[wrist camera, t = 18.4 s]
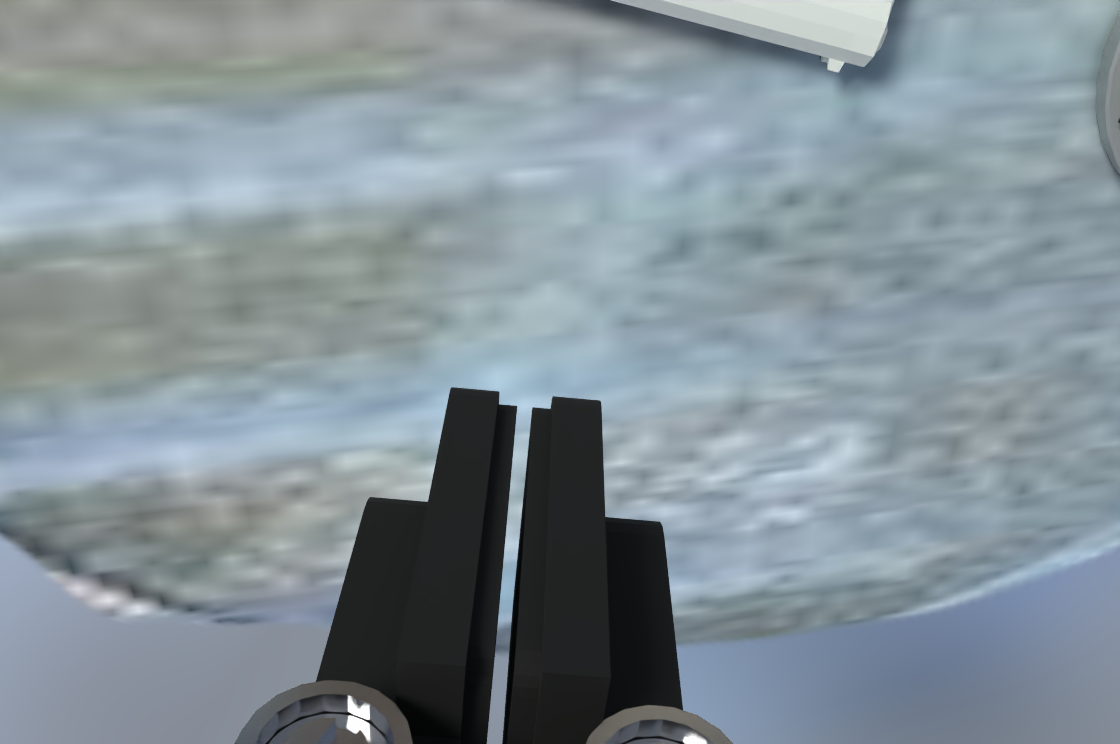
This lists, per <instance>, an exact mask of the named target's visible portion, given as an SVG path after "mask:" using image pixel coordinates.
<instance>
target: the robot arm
mask: <svg viewBox="0 0 1120 744" xmlns="http://www.w3.org/2000/svg"><path fill="white" fill-rule="evenodd" d="M1096 116H1097V121H1098V126H1099V130H1100V135H1101V140H1102V144H1103V146H1104V148H1105V150H1106V152H1107V154H1108V156H1109V159H1110V161H1111V163H1112V165H1113V167H1114V168H1115V169H1116V171H1117V172H1118V173H1119V174H1120V119H1119V118H1120V12H1119V14H1118V16H1117V18H1116V21H1115V23H1114V26H1113V28H1112V31H1111V33H1110V36H1109V38H1108V41H1107V43H1106V46H1105V48H1104V51H1103V56H1102V60H1101V65H1100V70H1099V75H1098V79H1097V95H1096ZM516 413H517V406H511V405H499V392H498V391H487V390H476V389H465V388H453V387H452V388H451V390H450V394H449V399H448V404H447V409H446V414H445V419H444V424H443V429H442V434H441V439H440V444H439V449H438V454H437V459H436V464H435V469H434V474H433V479H432V485H431V490H430V495H429V500H428V502H421V501H410V500H398V499H386V498H375V497H370V498H369V499H368V501H367V503H366V506H365V509H364V512H363V515H362V519H361V523H360V526H359V530H358V533H357V537H356V540H355V544H354V548H353V551H352V555H351V558H350V562H349V565H348V569H347V573H346V576H345V580H344V583H343V587H342V591H341V594H340V598H339V601H338V605H337V608H336V612H335V616H334V619H333V623H332V626H331V630H330V634H329V637H328V641H327V644H326V648H325V651H324V655H323V659H322V662H321V666H320V670H319V673H318V676H317V680H316V682H313V683H307V684H302V685H299V686H297V687H295V688H292V689H290V690H288V691H285V692H283V693H280V694H278V695H276V696H275V697H274V698H272V699H271V700H270V701H268V702H267V703H266V704H265V705H263V706H262V707H261V708H259V709H258V710H257V711H256V712H255V713H254V714H253V716H252V717H251V718H250V720H249V721H248V723H247V724H246V725H245V726H244V728H243V729H242V730H241V732H240V734H239V736H238V738H237V740H236V741H235V743H234V744H487V733H488V722H489V711H490V700H491V689H492V678H493V667H494V657H495V646H496V635H497V624H498V613H499V602H500V591H501V580H502V569H503V558H504V547H505V536H506V524H507V513H508V502H509V491H510V480H511V469H512V458H513V447H514V435H515V424H516ZM679 679H680V678H679V669H678V661H677V652H676V641H675V632H674V623H673V614H672V604H671V595H670V586H669V577H668V568H667V558H666V549H665V540H664V533H663V527H662V525H661V523H660V522H656V521H644V520H632V519H620V518H609V517H605V498H604V469H603V440H602V412H601V401H598V400H587V399H576V398H565V397H554V396H553V398H552V404H551V409H544V408H533V409H532V418H531V428H530V438H529V448H528V458H527V468H526V478H525V488H524V498H523V508H522V518H521V528H520V538H519V549H518V559H517V569H516V579H515V589H514V600H513V612H512V625H511V638H510V651H509V665H508V677H507V691H506V704H505V717H504V731H503V743H502V744H733V743H732V742H731V741H730V740H729V739H728V738H727V737H726V736H725V734H724V733H723V732H722V731H721V730H720V729H718V728H717V727H715V726H714V725H711V724H710V723H708V722H707V721H706V720H704V719H703V718H701V717H699V716H698V715H695V714H692V713H689V712H686V711H683V706H682V697H681V688H680V680H679Z"/></svg>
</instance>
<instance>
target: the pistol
mask: <svg viewBox="0 0 1120 744" xmlns="http://www.w3.org/2000/svg"><path fill="white" fill-rule="evenodd" d="M611 1H615V2H619V3H623V4H627V5H630V6H634V7H638V8H642V9H645V10H649V11H653V12H657V13H661V14H664V15H668V16H672V17H676V18H679V19H683V20H687V21H691V22H695V23H698V24H702V25H706V26H710V27H714V28H717V29H721V30H725V31H729V32H732V33H736V34H740V35H744V36H748V37H751V38H755V39H759V40H763V41H766V42H770V43H774V44H778V45H782V46H785V47H789V48H793V49H797V50H800V51H804V52H808V53H812V54H816V55H819V56H821V62H825V63H827V67H828V70H830V71H834V72H839V71H840V69H841V68H842V66H843V64H844V63H845V62H846V63H850V64H853V65H857V66H861V67H865V66H866V65H867V63H868V62H869V61H870V60H871V59H872V58H873V57H874V55H875V52H877V51H878V50H880V49H881V46H882V44H883V42H884V39H885V37H886V34H887V32H888V29H887V22H888V18H889V15H890V12H891V10H892V7H893V4H894V1H895V0H611Z"/></svg>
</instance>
